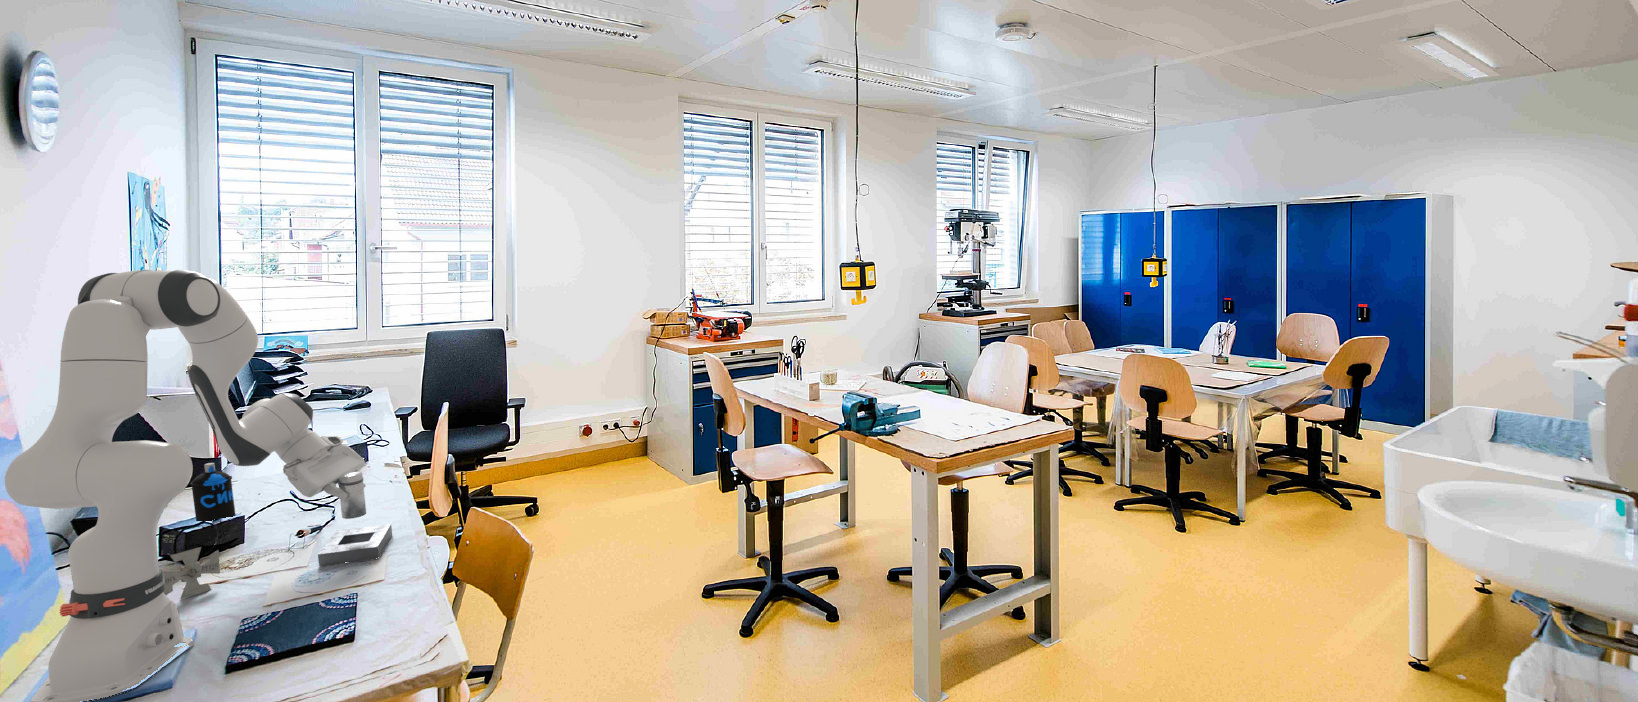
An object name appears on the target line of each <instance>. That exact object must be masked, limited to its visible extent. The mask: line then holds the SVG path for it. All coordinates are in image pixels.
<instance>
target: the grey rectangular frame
mask: <svg viewBox="0 0 1638 702" xmlns="http://www.w3.org/2000/svg"><path fill="white" fill-rule="evenodd" d="M392 536H393V527H392V524H391V523H390V524H389V523H388V524H381V525H372V526H365V527H354V528H348V529H347V528H346V529H339V530H336V531H335V532H334V533H333V534H332V536H331V537H330V539H329V540H328V541H327V542H326V543H325V545H324V546H323V547H322V549H321V550H320V551H319V553H317V557H318V567H319V566H322V567H328V566H327V565H330V566H335V564H337V565H341V564H340V563H345V562H352V563H358V562H365V561H373V560H372V559H374V560H377V559H376V558H378V557H380V558H381V556H382V554H383V553H384V550H385V548H386V547H387V545H388V543H389V542H390V540H391V538H392ZM380 555H381V556H380ZM345 564H346V563H345Z"/></svg>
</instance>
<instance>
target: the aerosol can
mask: <svg viewBox="0 0 1638 702" xmlns="http://www.w3.org/2000/svg"><path fill="white" fill-rule="evenodd" d="M215 464H216V463H215V462H208V463H205V464H203V466H204V472H203V473H200V474H199V475H197V476H196V477H194V478H193V480H192V481H191V482H189V485H190V486H191V490H192V499H193V506H194V514H195V521H212V520H214V519H219V518H226V517H233V516H236V507H235V499H234V493H233V492H234V491H233V484H232V480H233V476H232V475H229V474H228V473H227V472H223V471H217V470H216V465H215Z"/></svg>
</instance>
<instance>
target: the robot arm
mask: <svg viewBox="0 0 1638 702" xmlns="http://www.w3.org/2000/svg"><path fill="white" fill-rule="evenodd" d="M174 328H177V329H178V330H179V331H180V333H181V334H182V335H183V337H184V338H185V340H186V341H187V343H188V345H189V346H190V350H191V355H192V356H191V357H192V363H191V366H190V367H189V369H188V371H187V375H188V378H189V382H190V384H191V387H192V389H193V391H194V393H195V396H196V399H197V400H198V402H199V404H200V406H201V408H202V410H203V413H204V414H205V417H206V419H207V421H208V423H209V426H210V428H211V430H212V432H213V436H214V438H215V442H216V445H217V447H218V449H219V451H220V453H221V454H222V456H223V457H224V458H225V459H226V460H227V461H229V462H230V463H231V464H233V465H235V466H236V467H237V466H238V467H251V466H258V465H260V464H261V463H263V461H265V460H266V459H267V458H268V457H269V456H270V455H271V454H272V453H273V452H275V453H276V454H277V456H278V457H279V459H280V460H281V461H282V462H284V463H285V464H284V465H283V469H282V470H283V474H284V475H285V476H286V477H287V480H288V481H289V482H290V484H291V485H292V486H293V487H294V488H295V489H296V490H297V491H298V492H299V493H300V494H301V495H302V496H304V497H307V498H313V497H314V496H316V495H318V494H320V493H322V492H325V493H326V494H328V495H331V496H333V497H337V499H339V501H340V500H342V501H343V500H345V499H347V498H348V497H349V496H350V493H349V492H347V490H342V489H340V488H339V486H338V487H337V485H338V478H339V477H341V476H343V475H345V474H347V473H349V472H361V470H362V469H364V467H365V466H366V461H365V460H364V458H363V457H362V456H361V455H360V454H358V453H357V452H356V451H355V450H354V449H353V448H351V447H350V446H349V445H346V444H344V440H343V439H342V438H341V437H339V436H338V435H337V436H335V435H332V436H327V435H326V436H325V435H319V434H317V433H316V432H315V431H313V430H311V429H309V425H310V424H312V420H313V417H314V409H313V407H311V405H310V404H308V403H307V401H305V400H304V399H303V398H302V397H300V395H298V394H295V393H291V392H290V393H289V392H283V393H280V394H277V395H275V396H273V397H271V398H263V399H259V400H257V401H255V402H254V403H252V404H251V405H250V406H248V408H247V409H245V411H244V412H243V414H242V418H240V419H239V418H238V416H237V414H236V412H235V409H234V407H233V406H232V403H231V401H230V399H229V390H230V387H231V385H232V383H233V382H234V380H235V378H236V377H237V376H238V375H239V373H240V372H241V371H242V369H243V368H244V367H245V366H246V365H247V364H248V363H249V362H250V361H251V360H252V358H253V357H254V355H255V354H256V351H257V348H258V345H259V344H258V343H259V336H258V332H257V331H256V328H255V326H254V324H253V322H252V321H251V319H250V318H249V316H248V315H247V313H246V312H245V311H244V309H243V308H242V307H241V305H240V304H239V303H238V302H237V300H236V299H235V298H234V297H233V296H232V295H231V294H230V293H229V292H228V291H227V290H226V289H225V288H224V286H222V285H221V284H220V283H219V282H217V281H216V280H215V279H213V278H210V277H207V276H206V275H205V274H203V273H200V272H197V271H192V270H187V269H175V270H165V269H164V270H159V269H158V270H156V269H155V270H154V269H153V270H152V269H140V270H139V269H138V270H130V271H123V272H108V273H103V274H100V275H97V276H95V277H92V278H90V279H88V280H87V281H86V282H85V283H84V284H82V287H81V288H80V291H79V294H78V297H77V305H76V306H74V307H73V308H72V309H71V311H70V312H69V314H68V317H67V320H66V323H65V327H64V332H63V335H62V336H63V337H62V342H61V349H60V350H61V351H60V362H59V364H60V365H59V366H60V367H59V368H60V369H59V384H58V395H57V402H56V406H55V410H54V414H53V416H52V419H51V421H50V422H49V423H48V426H47V427H46V429H45V430H44V432H43V434H42V435H40V437H39V438H38V439H37V440H36V442H35V443H34V444H33V445H31V446H30V447H29V448H28V449H26V450H25V451H23V452H21V453H20V454H18V455H17V456H15V458H13V460H12V461H11V463H9V465H8V468H7V469H6V472H5V474H4V486H5V489H6V492H7V494H8V495H9V497H10V498H11V499H12V500H13V501H14V502H15V503H17V504H19V505H22V506H28V507H34V508H41V509H42V508H43V509H51V510H55V509H56V510H60V509H73V508H75V509H77V508H91V507H96V508H97V513H98V515H97V521H96V524H95V526H93V527H91V528H89V529H87V530H86V531H85V532H83V533H81V534H80V535H79V536H77V537H76V538H75V539H74V541H73V542H72V543H71V545H70V547H69V549H68V552H67V554H68V561H69V562H68V563H69V567H70V568H69V570H70V573H71V580H72V581H71V582H72V590H70V598H69V600H68V603H63V604H61V606H60V607H59V608H60V609H59V614H60V616H61V617H67V616H68V617H69V616H70V618H69V620H68V623H67V624H66V627H65V628H64V630H63V632H62V633H61V635H60V638H59V640H58V642H57V644H56V646H55V648H54V650H53V652H52V654H51V656H50V657H49V660H48V677H47V678H46V679H45V681H44V682H43V683H42V684H41V686H40V687H39V689H37V691H36V692H35V693H34V695H33V696H32V698H30V702H80V701H87V700H91V699H97V700H100V698H102V699H105V697H106V698H109V696H110V697H113V696H112V695H114V696H116V695H115V694H117V693H120V692H122V691H123V690H126V689H127V688H131V687H132V686H134V685H136V684H139V682H141V680H143V679H145V678H146V677H147V676H148V675H151V674H152V673H153V672H154V671H156V670H158V668H159V667H160V666H162V665H163V664H164V663H165V662H166V661H168V660H169V659H170V658H171V657H173V656H174V655H175V654H176V653H177V652H178V651H179V650H180V649H181V648H183V647H185V646H187V645H189V646H190V648H192V647H193V646H194V644H195V642H194V639H192V638H190V637H185V635H184V632H183V627H182V623H181V619H180V614H179V610H178V605H177V603H176V602H175V601H173V600H171V599H170V598H169V597H168V595H165V594H164V592H163V591H164V590H165V579H164V576H163V572H162V571H163V570H162V569H160V567H159V560H158V559H159V558H158V546H157V544H158V543H157V531H158V530H157V528H158V524H159V521H160V518H161V516H162V514H163V512H164V510H165V509H166V507H167V505H169V503H170V502H171V501H172V500H173V499H175V498H176V497H178V496H179V495H180V494H181V493H182V492H183V491H184V490H185V489H186V487H187V486H188V485H189V484H190V481H191V478H192V477H193V472H194V471H193V470H194V468H193V467H194V466H193V461H192V458H191V456H190V454H189V453H188V451H186V449H185V448H184V447H183V446H181V445H179V444H177V443H172V442H171V443H170V442H166V441H165V442H164V441H157V440H146V439H145V440H129V441H127V440H126V441H113V437H114V434H115V432H116V431H117V428H118V427H119V426H120V425H121V423H123V422H124V421H126V420H127V419H129V418H131V417H133V416H135V415H136V414H138V413H139V412H140V411H142V410H143V409H144V407H145V405H146V404H147V400H148V366H149V364H148V359H149V358H148V356H149V355H148V343H147V342H148V341H147V335H148V334H149V332H150V330H166V329H174ZM363 485H364V489H365V487H367V486H366V484H365V483H364V482H363ZM179 643H186V644H185V645H183V646H180V647H174V646H175V645H177V644H179ZM120 694H121V693H120ZM117 695H118V694H117ZM103 697H104V698H103ZM87 702H88V701H87Z"/></svg>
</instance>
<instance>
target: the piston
mask: <svg viewBox="0 0 1638 702" xmlns="http://www.w3.org/2000/svg"><path fill="white" fill-rule="evenodd" d="M363 475H364V474H363V472H362V471H359V472H349V473H347V474H345V475H343V476H341V477H339V478H338V484H337V485H338V488H340V489H342V490H347V492H349V493H350V496H349V497H348V498H347V499H345V500H343V501H342V500H340V499H339V501H340V502H339V503H340V510H341V511H340V512H341V518H342V519H345V520H348V519H349V520H350V519H351V520H352V519H356V518H360V517H364V516H365V515H366V514H367V506H366V495H365V488H364V485H363V483H364V477H363Z"/></svg>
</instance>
